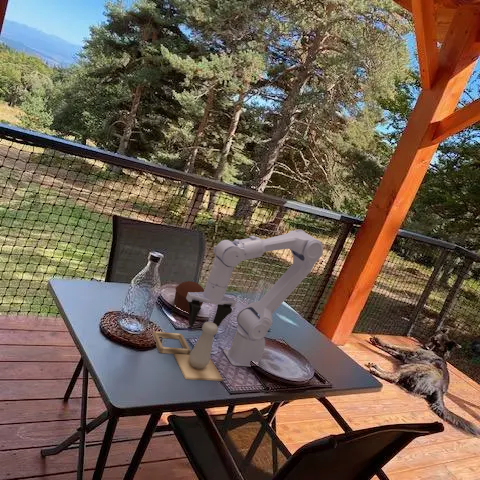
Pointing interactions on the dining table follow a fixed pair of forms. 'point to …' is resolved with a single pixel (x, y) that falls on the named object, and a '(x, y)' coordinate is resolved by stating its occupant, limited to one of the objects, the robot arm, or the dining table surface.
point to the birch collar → (167, 349)
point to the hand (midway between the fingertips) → (202, 325)
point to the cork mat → (197, 374)
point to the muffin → (182, 294)
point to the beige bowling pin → (203, 346)
